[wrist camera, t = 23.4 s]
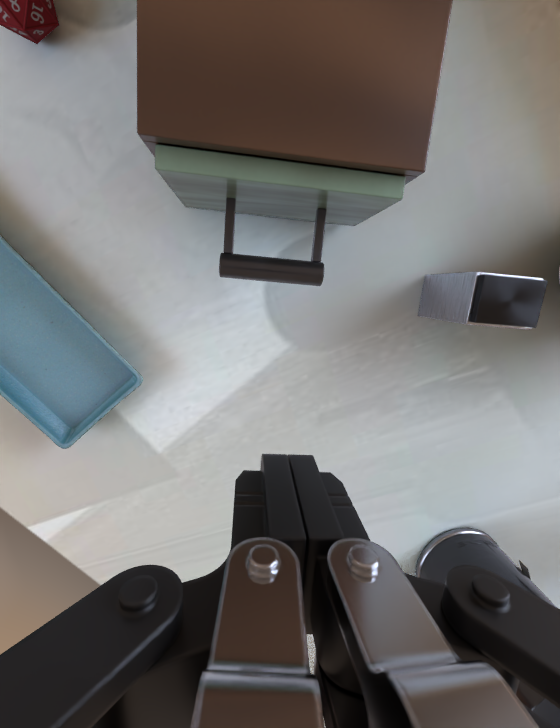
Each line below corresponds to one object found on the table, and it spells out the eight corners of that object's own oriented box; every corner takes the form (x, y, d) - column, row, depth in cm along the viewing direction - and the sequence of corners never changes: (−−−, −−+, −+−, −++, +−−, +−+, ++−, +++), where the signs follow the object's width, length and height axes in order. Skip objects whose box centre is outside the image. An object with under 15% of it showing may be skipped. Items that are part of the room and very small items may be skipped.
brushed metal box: (469, 320, 31) (538, 330, 24) (417, 315, 31) (471, 325, 23) (477, 279, 30) (551, 277, 23) (424, 274, 30) (483, 271, 22)
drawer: (346, 289, 29) (389, 291, 20) (183, 274, 27) (154, 269, 19) (390, -58, 23) (472, -255, 15) (192, -99, 22) (157, -343, 13)
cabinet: (360, 213, 28) (425, 172, 18) (179, 192, 27) (136, 133, 16) (398, -84, 24) (512, -363, 14) (186, -130, 22) (134, -486, 12)
